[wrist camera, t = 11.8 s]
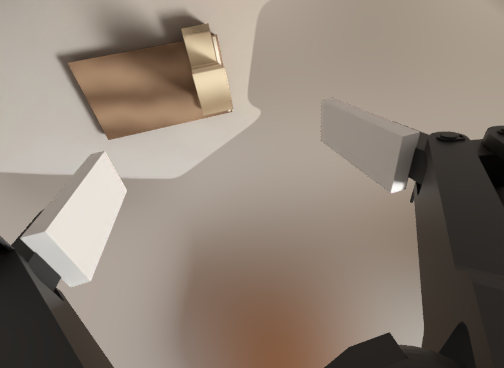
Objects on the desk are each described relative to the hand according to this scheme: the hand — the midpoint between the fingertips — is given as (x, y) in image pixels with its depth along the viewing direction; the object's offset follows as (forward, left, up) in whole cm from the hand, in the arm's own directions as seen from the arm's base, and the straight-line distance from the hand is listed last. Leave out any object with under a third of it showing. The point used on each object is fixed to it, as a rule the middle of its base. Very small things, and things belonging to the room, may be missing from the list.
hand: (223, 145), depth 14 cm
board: (0, -7, -31) cm, 32 cm away
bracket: (-1, +1, -31) cm, 31 cm away
